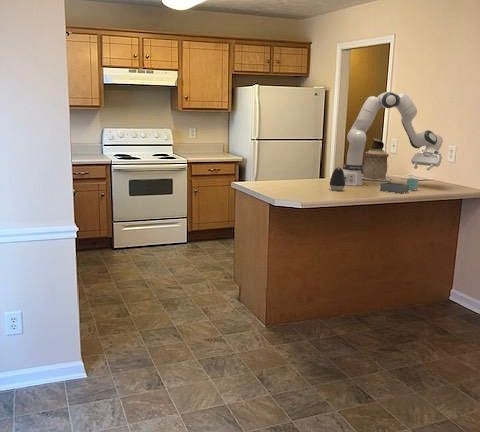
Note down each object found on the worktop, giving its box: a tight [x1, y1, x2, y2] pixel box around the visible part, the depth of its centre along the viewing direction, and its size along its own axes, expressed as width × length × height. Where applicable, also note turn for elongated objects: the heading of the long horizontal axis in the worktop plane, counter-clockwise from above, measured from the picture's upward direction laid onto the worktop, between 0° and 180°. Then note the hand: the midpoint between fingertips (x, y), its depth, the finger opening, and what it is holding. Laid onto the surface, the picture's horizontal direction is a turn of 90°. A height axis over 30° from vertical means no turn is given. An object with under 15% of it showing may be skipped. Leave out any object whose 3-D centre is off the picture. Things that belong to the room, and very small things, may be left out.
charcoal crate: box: [379, 181, 409, 194], centre depth 349 cm, size 12×15×5 cm
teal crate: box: [406, 177, 419, 190], centre depth 358 cm, size 6×5×8 cm
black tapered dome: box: [329, 166, 346, 192], centre depth 344 cm, size 10×10×15 cm
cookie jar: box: [362, 137, 392, 182], centre depth 407 cm, size 25×25×32 cm
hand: (421, 168), depth 364 cm, fingers open, 8 cm apart
